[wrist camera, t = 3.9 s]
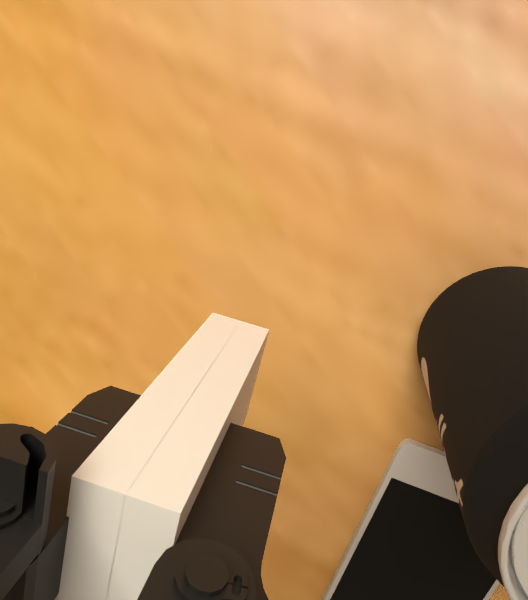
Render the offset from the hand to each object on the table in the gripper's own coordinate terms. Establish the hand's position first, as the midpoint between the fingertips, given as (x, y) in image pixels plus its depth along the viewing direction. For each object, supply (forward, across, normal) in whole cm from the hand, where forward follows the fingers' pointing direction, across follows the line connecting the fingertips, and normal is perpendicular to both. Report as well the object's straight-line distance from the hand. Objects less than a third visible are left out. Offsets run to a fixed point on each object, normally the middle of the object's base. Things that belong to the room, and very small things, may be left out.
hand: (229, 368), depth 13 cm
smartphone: (+10, +10, -14) cm, 20 cm away
